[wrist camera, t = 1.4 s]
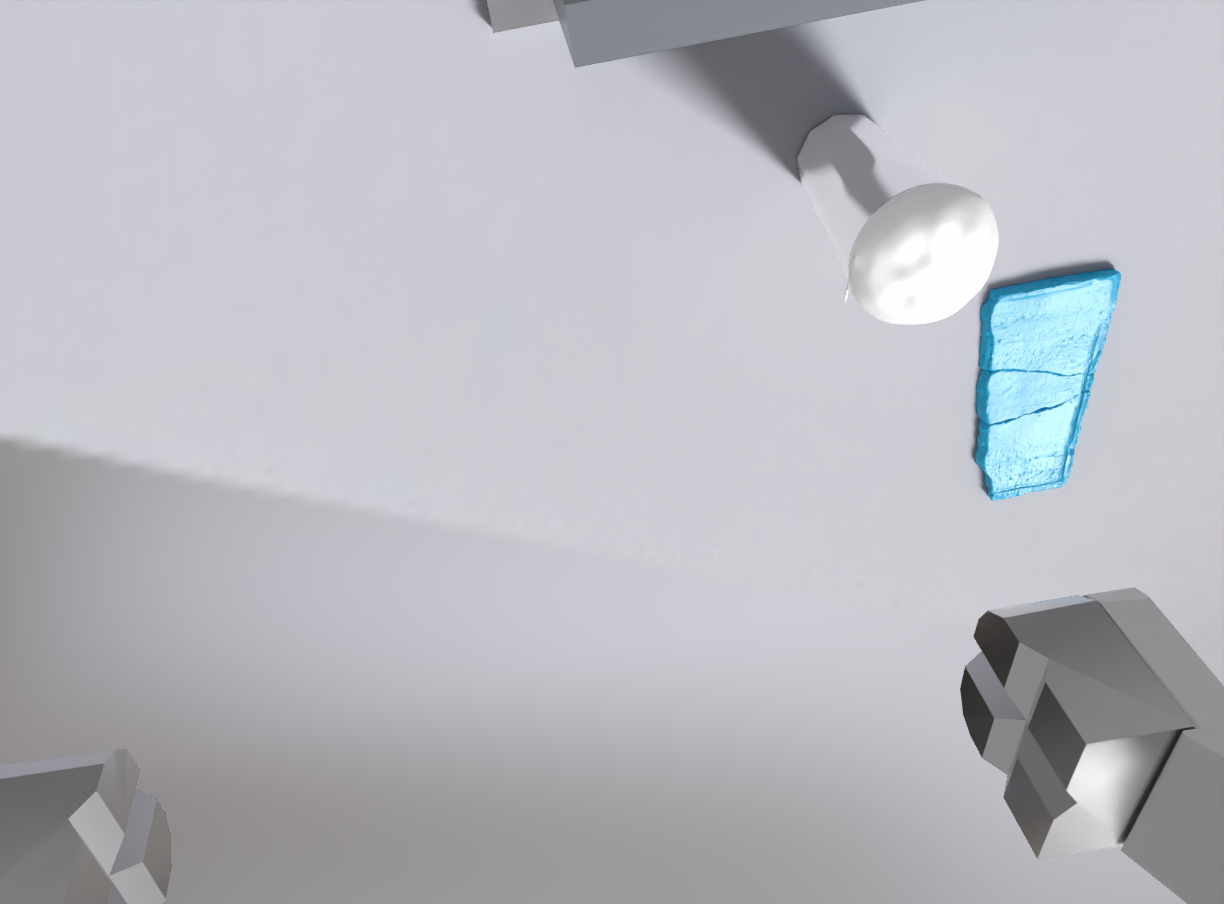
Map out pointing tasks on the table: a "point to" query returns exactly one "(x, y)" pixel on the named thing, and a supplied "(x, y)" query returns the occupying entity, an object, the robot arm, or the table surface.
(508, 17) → the rail
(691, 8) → the screen
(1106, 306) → the sponge
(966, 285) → the milkshake
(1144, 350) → the table surface
